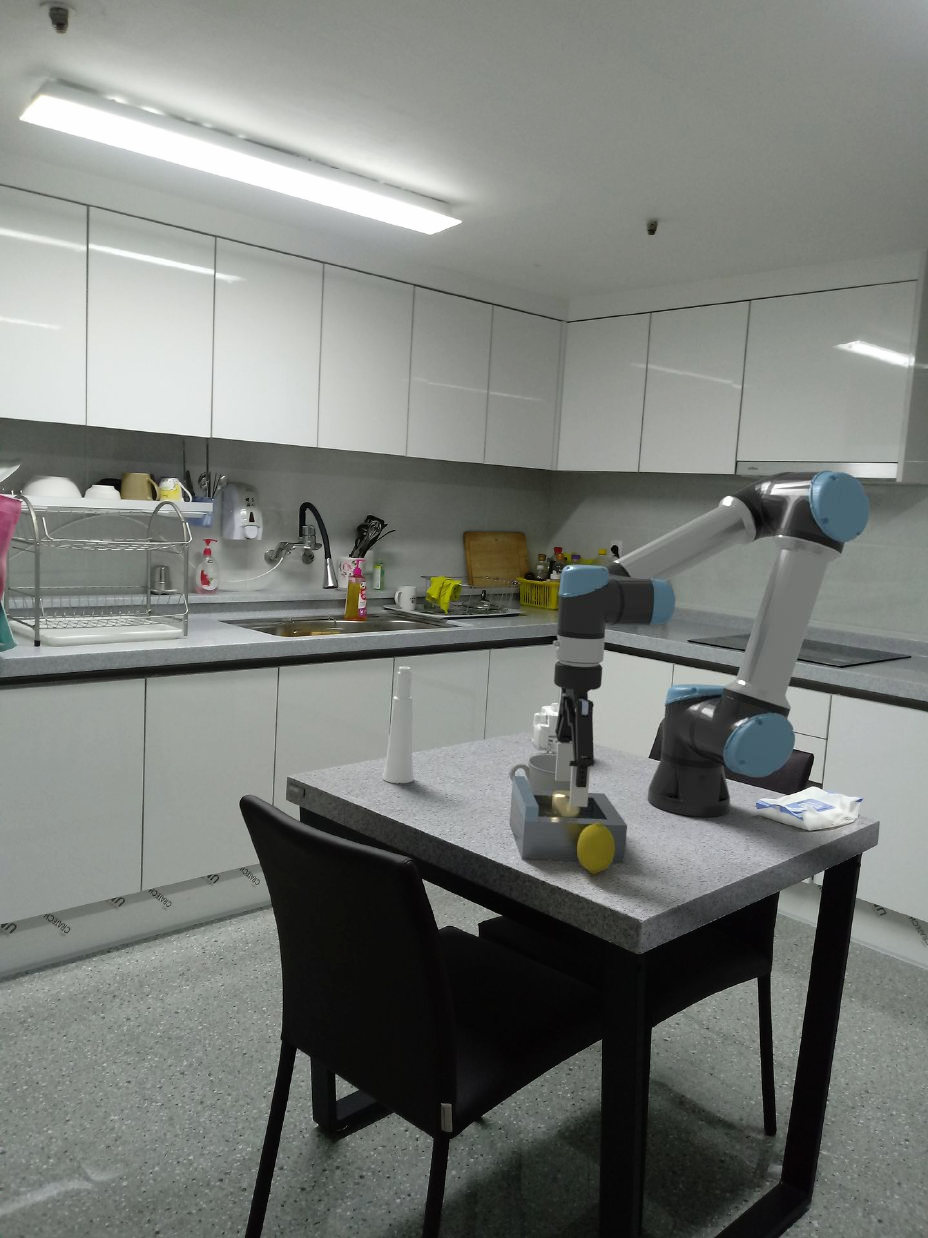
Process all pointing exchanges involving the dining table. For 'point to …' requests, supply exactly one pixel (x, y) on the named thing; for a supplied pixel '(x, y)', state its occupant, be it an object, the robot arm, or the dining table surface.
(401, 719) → the cosmetic bottle
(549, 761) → the teacup
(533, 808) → the jig
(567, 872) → the dining table surface
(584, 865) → the lemon
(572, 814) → the brass cylinder
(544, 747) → the mechanical part
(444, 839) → the dining table surface
